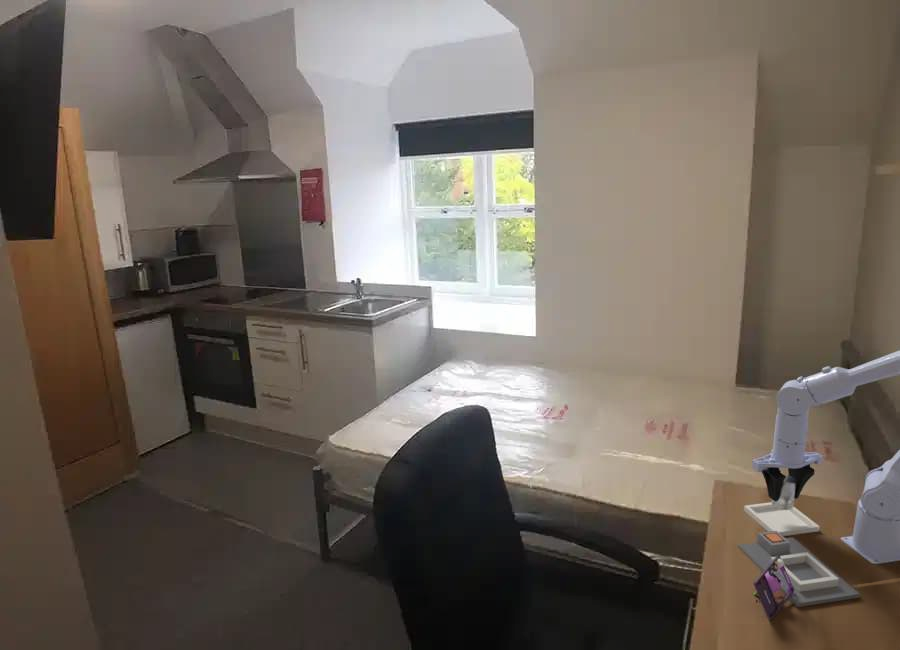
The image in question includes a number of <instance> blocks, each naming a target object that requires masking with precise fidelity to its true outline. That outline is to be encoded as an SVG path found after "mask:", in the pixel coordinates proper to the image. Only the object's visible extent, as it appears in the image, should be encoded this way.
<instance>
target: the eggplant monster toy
mask: <svg viewBox="0 0 900 650" xmlns="http://www.w3.org/2000/svg"><path fill="white" fill-rule="evenodd" d="M776 561H777V562H776ZM775 562H776V563H777V564H776V563H775ZM777 566H778V567H779V568H780V570H781V572H782V573H783V575H784V577H785V579H786V582H787V584H788V586H789V588H788V589H787V591H788V593H787V595H786V594H785V595H786V596H785V595H784V597H783V599H782V600H781V601H780V602H779V604H778V602H777V601H776V598H775V596H774V594H775V593H776V592H778V591H779V590H781V589H780V587H782V586H781V585H782V584H780V583H781V581H780V580H781V579H782V578H778V577H777V576H776V571H777V570H778V567H777ZM772 567H773V568H772ZM768 570H769V572H767V571H768ZM774 571H775V572H774ZM753 585H754V588H755V590H756V591H754V592H753V594H752V595H753V596H755V597H757V596H758V598H759V599H760V600H759V601H760V603H761V605H762V607H763V609H764V612H765V615H766V617H767V618H768V621H772V620H773V619H774V618H775V616H776V615H777V614H778V612H779V611H780V610H781V609H782V607H783V606H784V604H785V603H786V602H787V601H788V600H789V599H788V598H789V597H790V596H791V594H792V593H793V592H794V588H793V586H792V584H791V581H790V579H789V577H788V574H787V572H786V569H785V567H784V562H783V561H782V560H781V557H780V556H776V557H775V558H774V560H773V561H772V562H771V563H770V564H769V565H768V567H767V568H766V569H765V570H764V571H762V572H761V574H760V575H759V576H757V578H756V579H755V580H754V582H753Z"/></svg>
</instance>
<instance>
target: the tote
mask: <svg viewBox="0 0 900 650" xmlns="http://www.w3.org/2000/svg"><path fill="white" fill-rule="evenodd" d="M743 511H744V512H745V513H747V514H748V515H749V516H750V517H751V518H752V519H753V520H754V521H755V522H757V523H758V525H760V526H761V527H762V528H763V529H765V530H766V532H769V531H777V532H779V533H780V534H781V535H782V536H783V537H786V536H793V535H794V536H795V535H800V534H807V533H815V532H819V531H820V528H821V526H820V525H819V524H817V523H816V522H814V521H813V520H812V519H811V518H809V517H808V516H807V515H805V514H804V513H803V512H802V511H800V510H799V509H798V508H796V507H795V506H794V505H793V509H791V510H782V509H779V508H776V507H775V506H773V505H772V501H769V502H763V503H755V504H747V505H744V507H743Z"/></svg>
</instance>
